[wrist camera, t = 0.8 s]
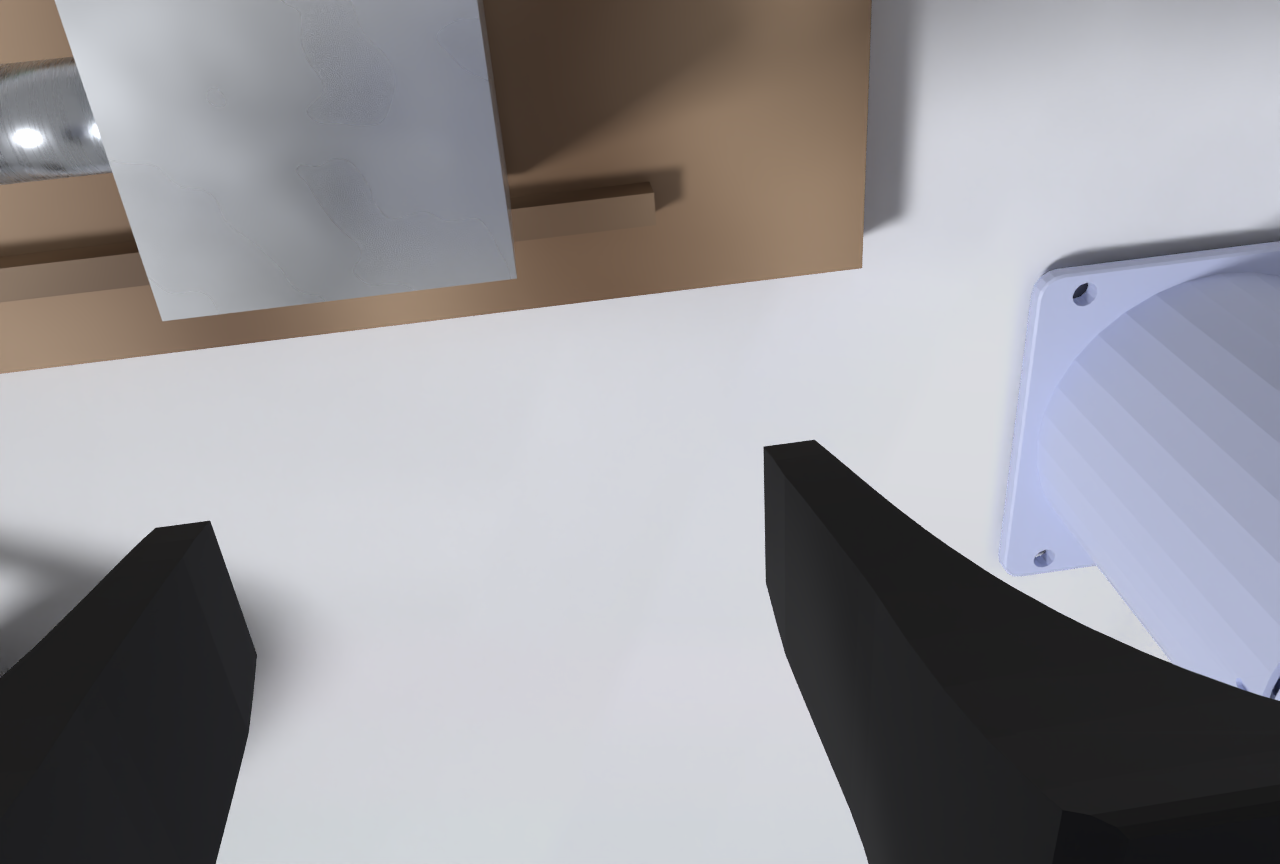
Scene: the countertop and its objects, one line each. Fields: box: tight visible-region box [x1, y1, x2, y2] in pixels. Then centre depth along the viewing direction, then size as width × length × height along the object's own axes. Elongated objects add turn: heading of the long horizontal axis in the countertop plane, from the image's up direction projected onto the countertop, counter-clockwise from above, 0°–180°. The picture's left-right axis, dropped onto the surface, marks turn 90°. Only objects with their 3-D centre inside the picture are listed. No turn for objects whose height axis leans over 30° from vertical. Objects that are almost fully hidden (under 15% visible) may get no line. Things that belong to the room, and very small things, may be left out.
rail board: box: [0, 0, 872, 374], centre depth 16 cm, size 22×10×6 cm, turn 94°
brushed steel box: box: [0, 0, 517, 321], centre depth 15 cm, size 7×7×4 cm
